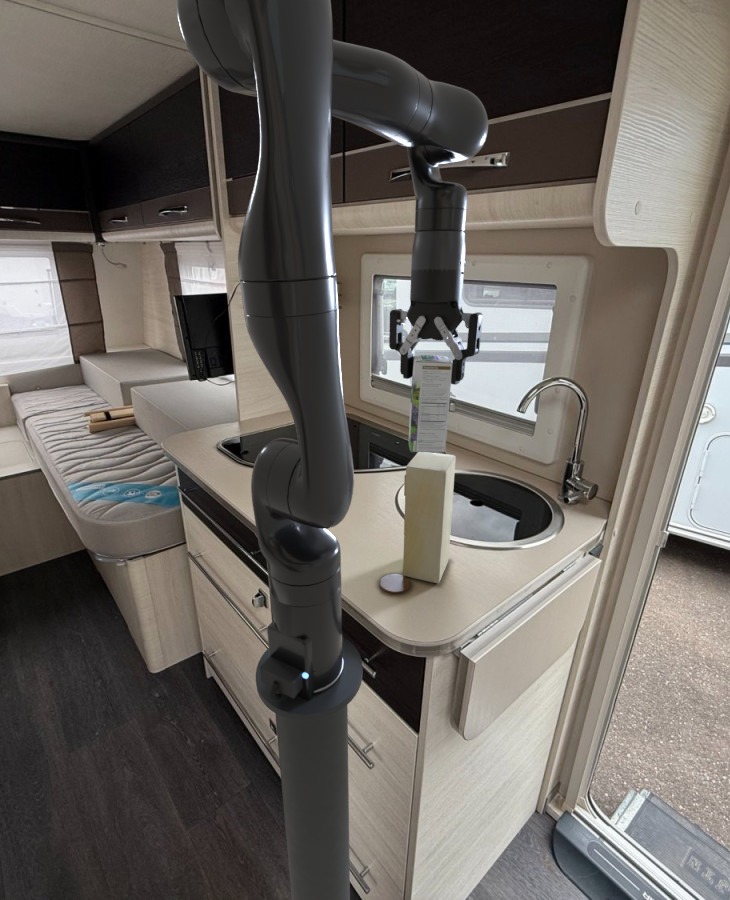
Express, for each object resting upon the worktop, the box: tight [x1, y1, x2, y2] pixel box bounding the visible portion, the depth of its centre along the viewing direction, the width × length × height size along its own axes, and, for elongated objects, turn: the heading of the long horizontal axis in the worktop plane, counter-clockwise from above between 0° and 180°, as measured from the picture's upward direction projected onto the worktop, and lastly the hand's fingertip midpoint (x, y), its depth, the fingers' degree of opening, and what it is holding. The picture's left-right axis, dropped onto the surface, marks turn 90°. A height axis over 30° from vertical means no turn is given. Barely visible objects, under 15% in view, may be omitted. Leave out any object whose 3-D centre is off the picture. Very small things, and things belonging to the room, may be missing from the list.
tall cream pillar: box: [402, 452, 457, 584], centre depth 81 cm, size 8×7×21 cm
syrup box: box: [408, 354, 453, 453], centre depth 74 cm, size 6×6×14 cm
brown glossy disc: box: [379, 573, 410, 595], centre depth 80 cm, size 5×5×1 cm
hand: (431, 380), depth 73 cm, fingers closed on syrup box, 7 cm apart
